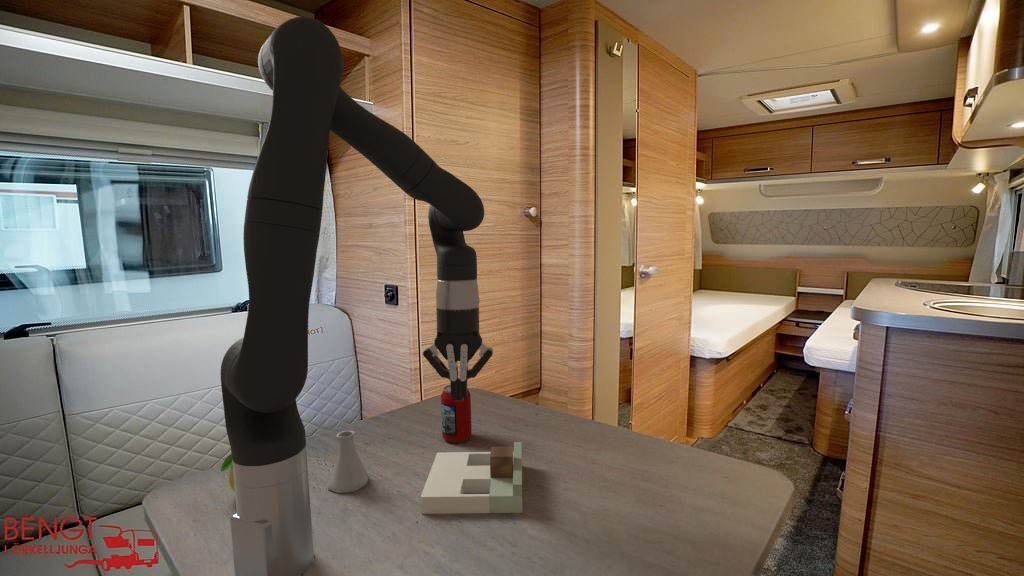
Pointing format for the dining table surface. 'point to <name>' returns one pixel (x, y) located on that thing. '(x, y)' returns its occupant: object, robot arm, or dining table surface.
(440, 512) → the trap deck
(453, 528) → the dining table surface
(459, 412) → the beverage can
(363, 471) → the flask
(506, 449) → the walnut block
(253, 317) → the robot arm
